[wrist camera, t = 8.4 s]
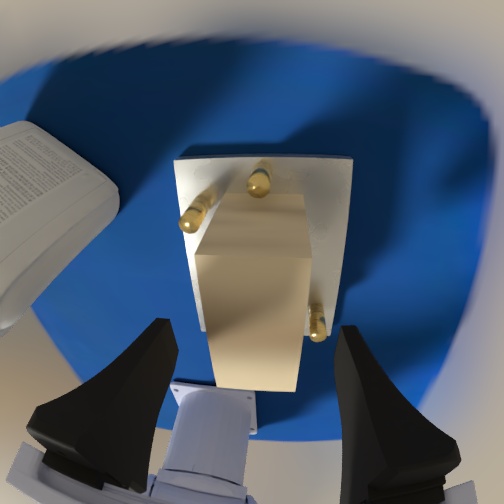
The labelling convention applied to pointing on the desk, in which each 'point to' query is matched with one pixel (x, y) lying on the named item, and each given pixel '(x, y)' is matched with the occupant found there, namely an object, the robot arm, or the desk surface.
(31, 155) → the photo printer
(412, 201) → the desk surface
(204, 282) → the board
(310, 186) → the plate
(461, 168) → the desk surface
